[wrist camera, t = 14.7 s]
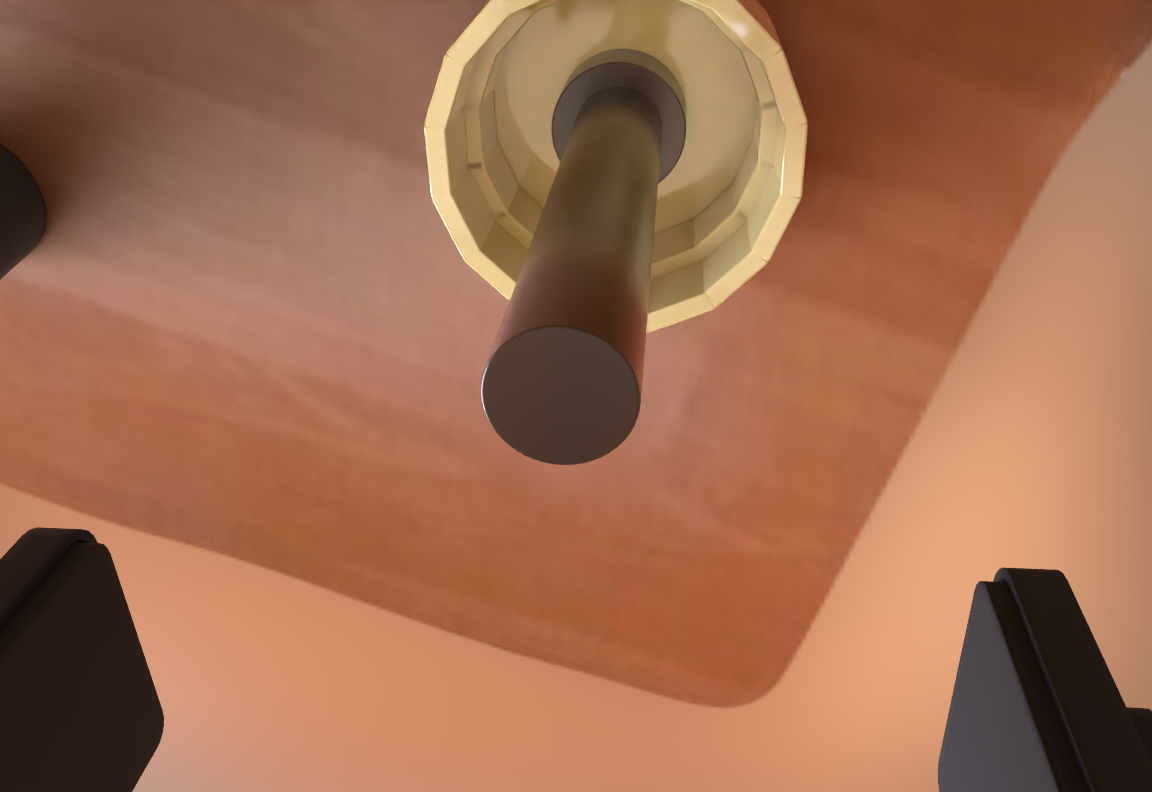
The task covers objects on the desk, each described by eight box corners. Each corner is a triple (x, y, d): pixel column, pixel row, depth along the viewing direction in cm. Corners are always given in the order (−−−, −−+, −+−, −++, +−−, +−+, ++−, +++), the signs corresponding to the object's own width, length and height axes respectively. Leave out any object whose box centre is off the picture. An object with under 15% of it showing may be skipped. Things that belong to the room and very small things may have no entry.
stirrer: (687, 47, 31) (686, 285, 15) (684, 176, 33) (682, 503, 17) (555, 49, 31) (425, 283, 16) (561, 176, 33) (449, 497, 18)
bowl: (798, -72, 30) (821, -48, 25) (776, 257, 35) (791, 335, 30) (453, -63, 31) (406, -38, 26) (480, 255, 36) (444, 330, 31)
